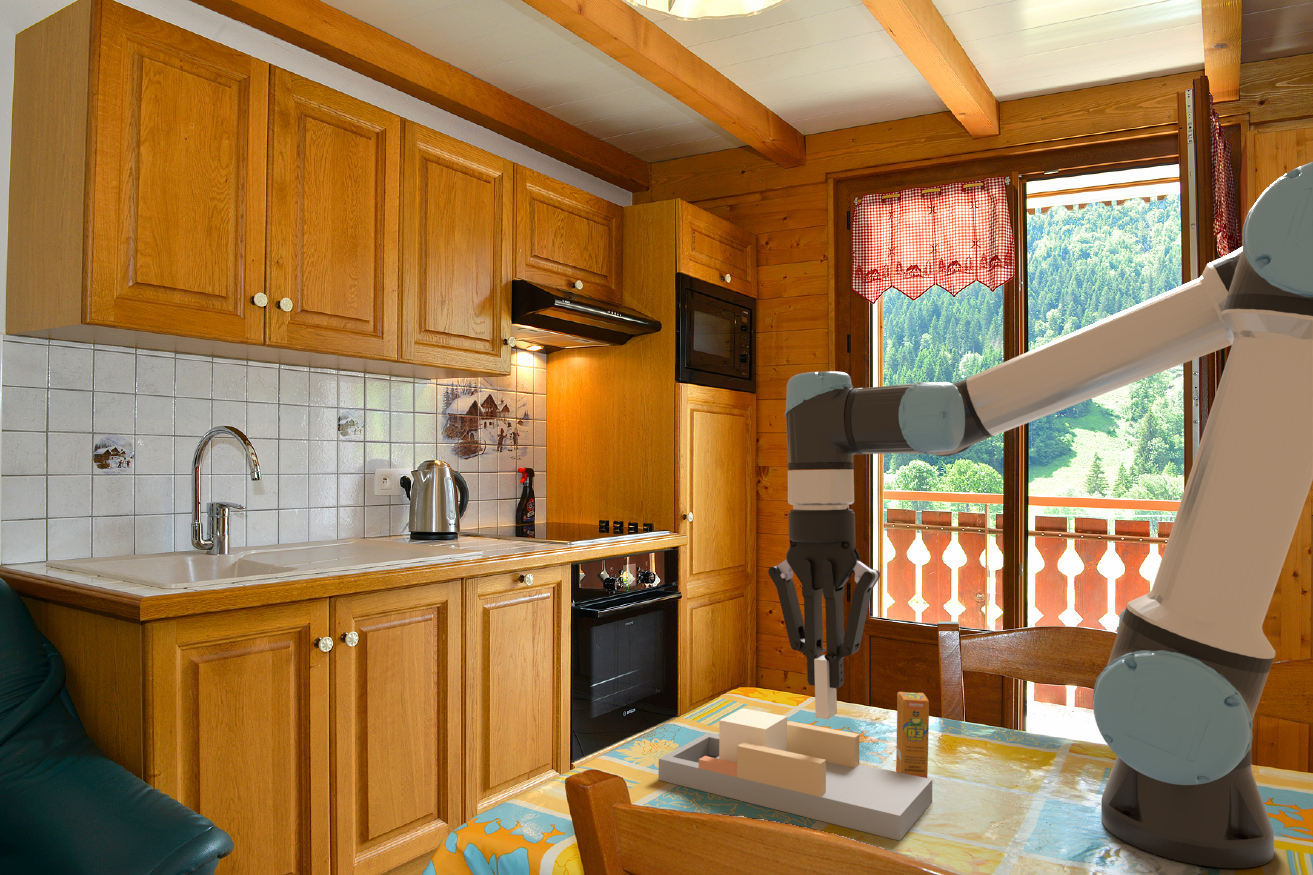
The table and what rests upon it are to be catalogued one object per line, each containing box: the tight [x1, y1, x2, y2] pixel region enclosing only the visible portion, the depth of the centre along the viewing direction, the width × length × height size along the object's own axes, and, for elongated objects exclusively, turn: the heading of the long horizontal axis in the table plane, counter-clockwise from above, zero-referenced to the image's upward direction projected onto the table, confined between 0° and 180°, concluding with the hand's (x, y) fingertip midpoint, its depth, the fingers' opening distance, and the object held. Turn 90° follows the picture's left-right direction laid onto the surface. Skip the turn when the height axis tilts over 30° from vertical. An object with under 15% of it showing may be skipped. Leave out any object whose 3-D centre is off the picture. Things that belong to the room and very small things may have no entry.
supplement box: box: [895, 691, 930, 778], centre depth 103 cm, size 3×3×10 cm
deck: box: [658, 720, 933, 842], centre depth 99 cm, size 29×12×6 cm, turn 57°
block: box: [718, 707, 788, 763], centre depth 101 cm, size 6×6×5 cm
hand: (826, 715), depth 97 cm, fingers closed
